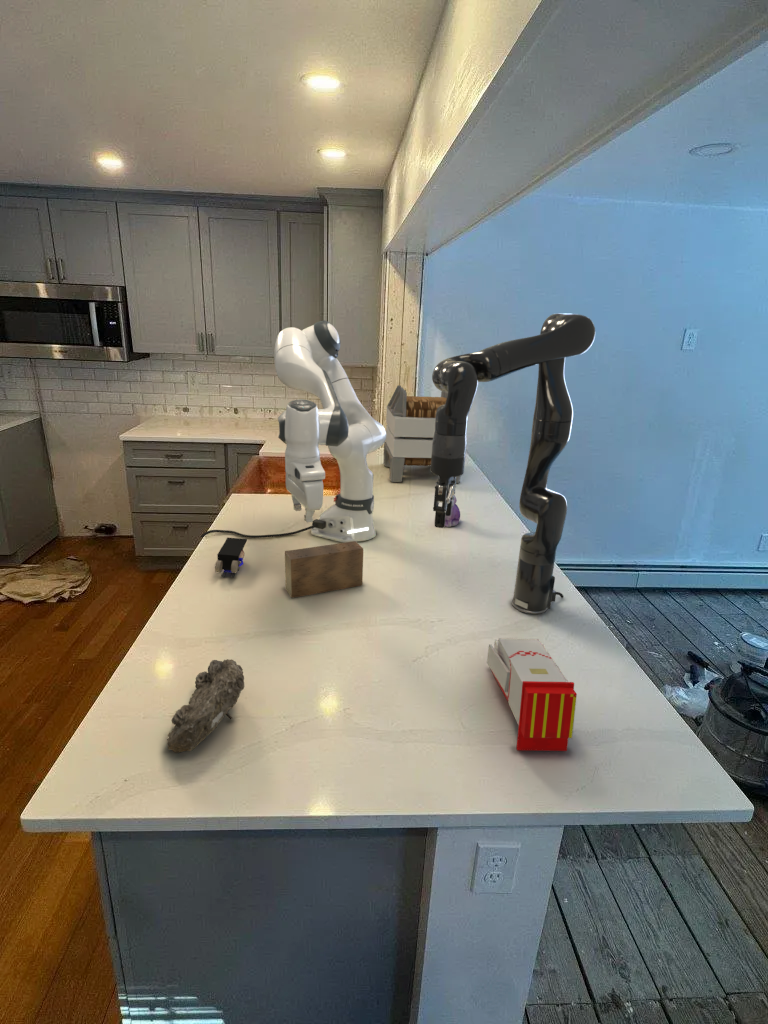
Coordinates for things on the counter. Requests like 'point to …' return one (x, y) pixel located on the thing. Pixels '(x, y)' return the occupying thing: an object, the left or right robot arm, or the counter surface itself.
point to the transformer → (410, 431)
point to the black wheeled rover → (230, 556)
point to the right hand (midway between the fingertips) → (442, 520)
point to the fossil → (206, 705)
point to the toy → (534, 693)
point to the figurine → (453, 515)
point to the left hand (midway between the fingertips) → (302, 515)
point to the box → (323, 568)
